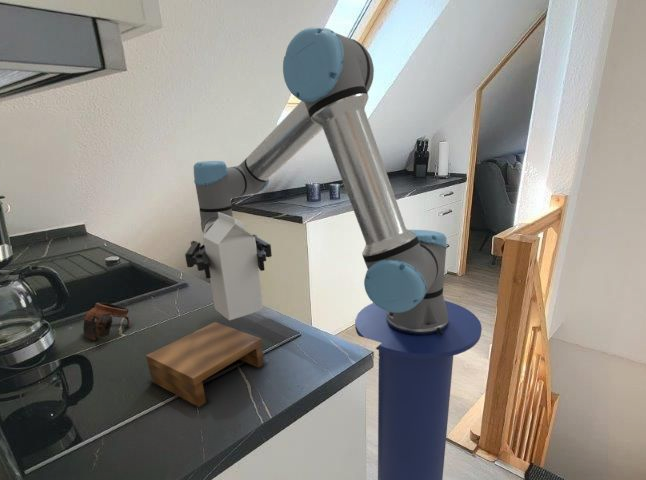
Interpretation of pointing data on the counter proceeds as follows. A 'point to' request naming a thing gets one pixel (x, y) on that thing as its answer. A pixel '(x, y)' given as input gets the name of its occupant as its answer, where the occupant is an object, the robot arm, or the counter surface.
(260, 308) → the milk carton
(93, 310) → the pottery mug
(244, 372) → the counter surface
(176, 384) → the oak shelf
